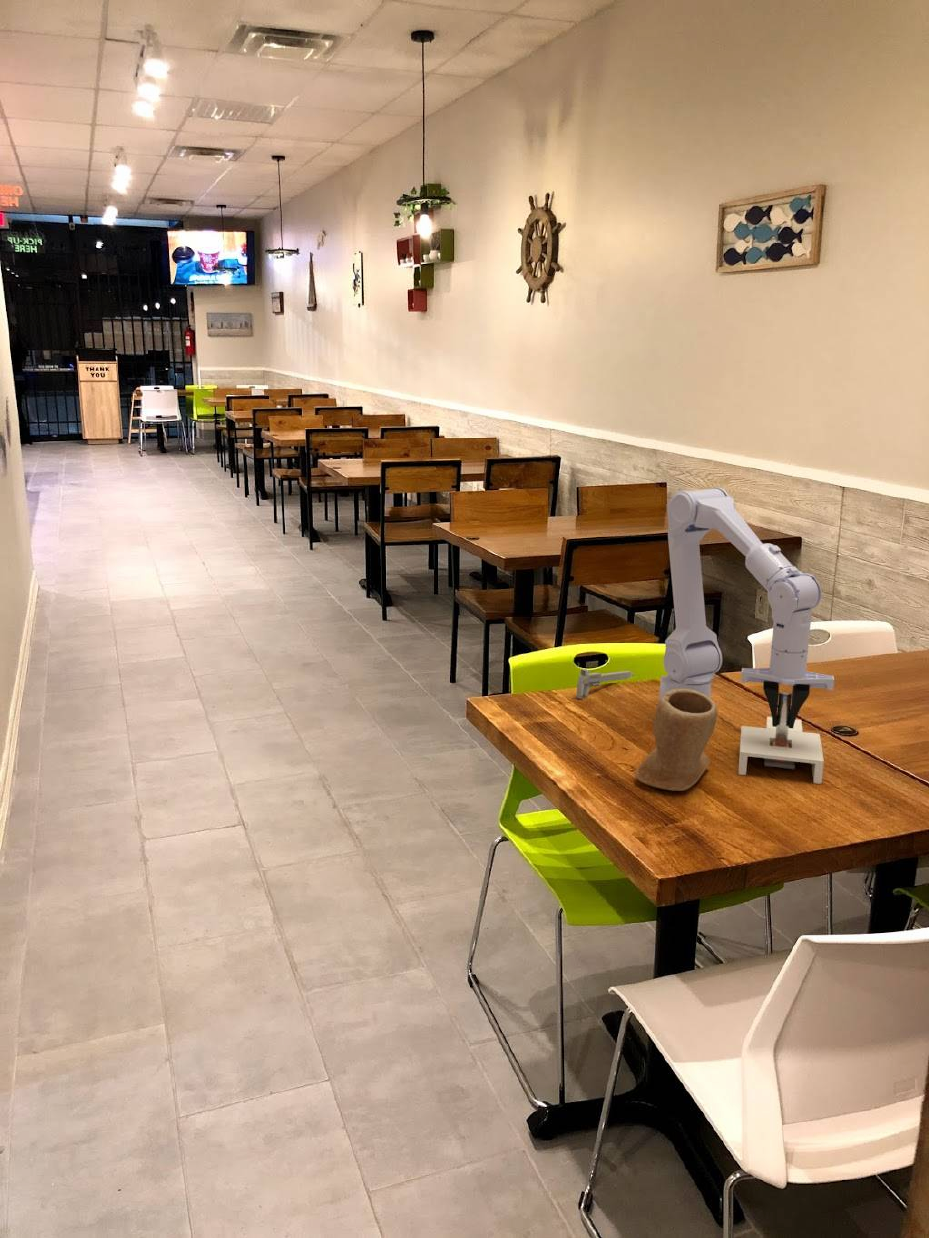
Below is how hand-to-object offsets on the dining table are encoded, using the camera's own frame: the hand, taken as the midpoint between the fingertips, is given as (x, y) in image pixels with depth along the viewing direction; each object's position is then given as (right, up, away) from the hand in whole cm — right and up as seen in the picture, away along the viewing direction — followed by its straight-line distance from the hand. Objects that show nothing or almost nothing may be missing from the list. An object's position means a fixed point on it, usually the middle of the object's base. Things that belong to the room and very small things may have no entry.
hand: (782, 725), depth 162 cm
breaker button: (0, -6, +2) cm, 7 cm away
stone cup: (-18, -8, -3) cm, 20 cm away
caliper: (-24, +3, +40) cm, 47 cm away
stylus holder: (+5, -4, +14) cm, 15 cm away
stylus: (0, -3, +1) cm, 3 cm away
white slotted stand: (0, -7, +2) cm, 7 cm away
